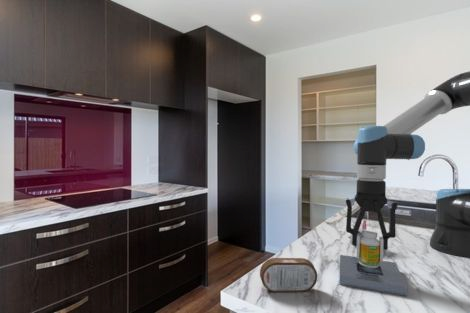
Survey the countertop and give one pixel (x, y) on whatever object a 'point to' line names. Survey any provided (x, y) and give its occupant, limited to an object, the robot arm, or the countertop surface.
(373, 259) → the supplement bottle
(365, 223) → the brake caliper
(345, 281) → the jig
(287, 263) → the tin
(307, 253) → the countertop surface
